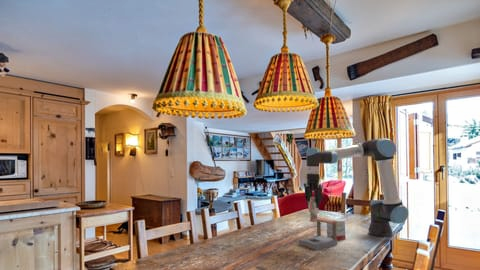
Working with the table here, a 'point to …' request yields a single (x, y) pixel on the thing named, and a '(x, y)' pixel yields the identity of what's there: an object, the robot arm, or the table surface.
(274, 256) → the table surface
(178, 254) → the table surface
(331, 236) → the ink box
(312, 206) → the peg
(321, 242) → the socket porch
